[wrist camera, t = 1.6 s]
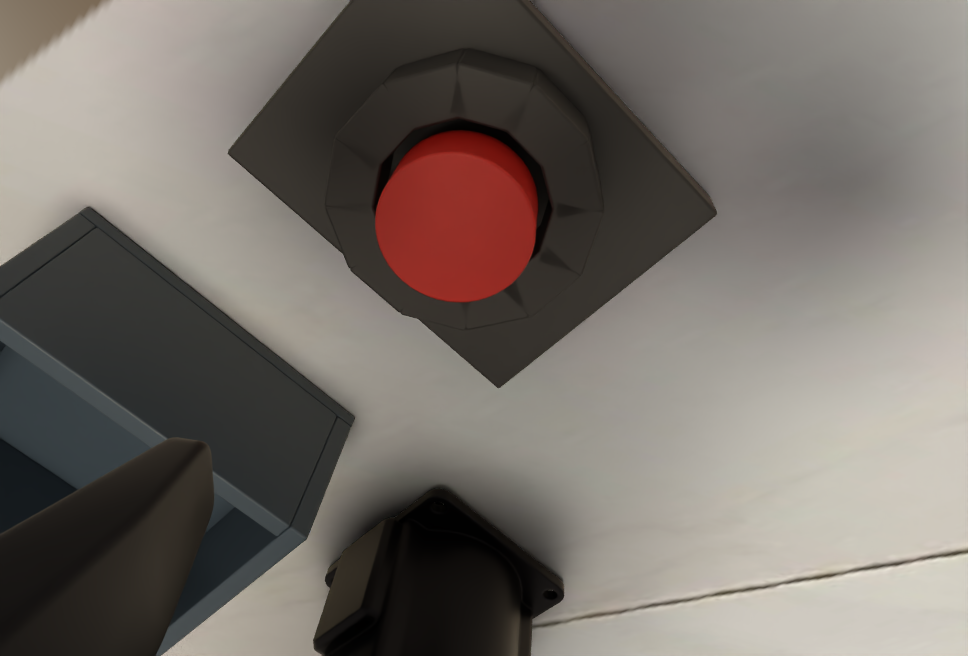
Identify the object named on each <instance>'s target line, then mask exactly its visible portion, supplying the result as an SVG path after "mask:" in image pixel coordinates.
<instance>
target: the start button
mask: <svg viewBox="0 0 968 656" xmlns="http://www.w3.org/2000/svg"><path fill="white" fill-rule="evenodd" d="M537 215H538V195H537V190H536V186H535V183H534V180H533V177H532V175H531V173H530V171H529V169H528V167H527V166H526V164H525V163H524V161H523V160H522V159H521V158H520V157H519V156H518V154H517V153H516V152H514V151H513V150H512V149H511V148H510V147H509V146H507V145H506V144H504V143H503V142H501V141H500V140H498V139H496V138H494V137H492V136H489V135H486V134H483V133H479V132H475V131H467V130H452V131H446V132H441V133H438V134H435V135H432V136H430V137H428V138H426V139H424V140H422V141H420V142H419V143H418V144H416V145H415V146H414V147H412V148H411V149H410V150H409V151H408V152H407V153H406V154H405V156H404V157H403V158H402V159H401V161H400V163H399V164H398V166H397V167H396V169H395V171H394V172H393V174H392V176H391V178H390V179H389V181H388V183H387V184H386V186H385V188H384V189H383V191H382V193H381V196H380V198H379V201H378V205H377V208H376V216H375V230H376V236H377V241H378V244H379V247H380V250H381V252H382V254H383V256H384V258H385V260H386V262H387V263H388V265H389V266H390V268H391V269H392V270H393V271H394V273H395V274H396V275H397V276H398V277H399V278H400V279H401V280H402V281H403V282H405V283H406V284H407V285H408V286H410V287H411V288H413V289H415V290H416V291H418V292H420V293H422V294H424V295H426V296H428V297H432V298H435V299H438V300H443V301H448V302H471V301H477V300H481V299H485V298H488V297H490V296H492V295H495V294H497V293H499V292H500V291H502V290H504V289H505V288H507V287H508V286H509V285H510V284H512V283H513V282H514V281H515V280H516V279H517V278H518V277H519V276H520V274H521V273H522V272H523V270H524V269H525V267H526V266H527V264H528V262H529V260H530V258H531V255H532V253H533V249H534V245H535V238H536V226H537Z"/></svg>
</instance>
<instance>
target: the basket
mask: <svg viewBox="0 0 968 656" xmlns="http://www.w3.org/2000/svg"><path fill="white" fill-rule="evenodd" d="M354 419H355V418H354V417H353V416H352V415H351V414H349V413H348V412H347V411H346V410H344V409H343V408H342V407H341V406H339V405H338V404H337V403H336V402H334V401H333V400H332V399H331V398H329V397H328V396H327V395H325V394H324V393H323V392H322V391H320V390H319V389H318V388H317V387H315V386H314V385H313V384H312V383H310V382H309V381H308V380H307V379H305V378H304V377H303V376H301V375H300V374H299V373H298V372H296V371H295V370H294V369H293V368H291V367H290V366H289V365H288V364H286V363H285V362H284V361H283V360H281V359H280V358H279V357H277V356H276V355H275V354H274V353H272V352H271V351H270V350H269V349H267V348H266V347H265V346H264V345H262V344H261V343H260V342H259V341H257V340H256V339H255V338H253V337H252V336H251V335H250V334H248V333H247V332H246V331H245V330H243V329H242V328H241V327H240V326H238V325H237V324H236V323H235V322H233V321H232V320H231V319H230V318H228V317H227V316H226V315H224V314H223V313H222V312H221V311H219V310H218V309H217V308H216V307H214V306H213V305H212V304H211V303H209V302H208V301H207V300H206V299H204V298H203V297H202V296H200V295H199V294H198V293H197V292H195V291H194V290H193V289H192V288H190V287H189V286H188V285H187V284H185V283H184V282H183V281H182V280H180V279H179V278H178V277H176V276H175V275H174V274H173V273H171V272H170V271H169V270H168V269H166V268H165V267H164V266H163V265H161V264H160V263H159V262H158V261H156V260H155V259H154V258H152V257H151V256H150V255H149V254H147V253H146V252H145V251H144V250H142V249H141V248H140V247H139V246H137V245H136V244H135V243H134V242H132V241H131V240H130V239H128V238H127V237H126V236H125V235H123V234H122V233H121V232H120V231H118V230H117V229H116V228H115V227H113V226H112V225H111V224H110V223H108V222H107V221H106V220H104V219H103V218H102V217H101V216H99V215H98V214H97V213H96V212H94V211H93V210H92V209H91V208H89V207H87V208H85V209H84V210H82V211H81V212H79V213H78V214H77V215H75V216H74V217H72V218H71V219H69V220H68V221H66V222H65V223H63V224H62V225H60V226H59V227H57V228H56V229H54V230H53V231H51V232H50V233H49V234H47V235H46V236H44V237H43V238H41V239H40V240H38V241H37V242H35V243H34V244H32V245H31V246H29V247H28V248H26V249H25V250H24V251H22V252H21V253H19V254H18V255H16V256H15V257H13V258H12V259H10V260H9V261H7V262H6V263H4V264H3V265H1V266H0V534H2V533H3V532H5V531H7V530H9V529H10V528H12V527H14V526H16V525H17V524H19V523H21V522H23V521H24V520H26V519H28V518H30V517H31V516H33V515H35V514H37V513H38V512H40V511H42V510H44V509H45V508H47V507H49V506H51V505H52V504H54V503H56V502H58V501H59V500H61V499H63V498H65V497H66V496H68V495H70V494H72V493H74V492H75V491H77V490H79V489H81V488H82V487H84V486H86V485H88V484H89V483H91V482H93V481H95V480H96V479H98V478H100V477H102V476H103V475H105V474H107V473H109V472H110V471H112V470H114V469H116V468H117V467H119V466H121V465H123V464H124V463H126V462H128V461H130V460H131V459H133V458H135V457H137V456H138V455H140V454H142V453H144V452H145V451H147V450H149V449H151V448H152V447H154V446H156V445H158V444H159V443H161V442H163V441H165V440H167V439H169V438H173V437H178V438H185V439H191V440H198V441H203V442H205V443H207V444H208V445H209V447H210V450H211V456H212V470H213V484H214V506H213V511H212V515H211V518H210V521H209V524H208V526H207V529H206V531H205V534H204V537H203V539H202V542H201V544H200V547H199V550H198V552H197V555H196V557H195V560H194V562H193V565H192V568H191V570H190V573H189V575H188V578H187V581H186V583H185V586H184V588H183V591H182V594H181V596H180V599H179V601H178V604H177V607H176V609H175V612H174V614H173V617H172V620H171V622H170V624H169V627H168V629H167V632H166V634H165V637H164V639H163V641H162V643H161V645H160V648H159V650H158V652H157V654H156V656H161V655H162V654H164V653H165V652H166V651H167V650H169V649H170V648H171V647H172V646H174V645H175V644H176V643H177V642H179V641H180V640H181V639H182V638H184V637H185V636H186V635H187V634H189V633H190V632H191V631H192V630H194V629H195V628H196V627H197V626H199V625H200V624H201V623H202V622H204V621H205V620H206V619H207V618H209V617H210V616H211V615H212V614H214V613H215V612H216V611H217V610H219V609H220V608H221V607H222V606H224V605H225V604H226V603H227V602H229V601H230V600H231V599H232V598H234V597H235V596H236V595H237V594H239V593H240V592H241V591H242V590H244V589H245V588H246V587H247V586H249V585H250V584H251V583H252V582H254V581H255V580H256V579H257V578H259V577H260V576H261V575H262V574H264V573H265V572H266V571H267V570H269V569H270V568H271V567H272V566H274V565H275V564H276V563H277V562H279V561H280V560H281V559H282V558H284V557H285V556H286V555H287V554H289V553H290V552H291V551H292V550H294V549H295V548H296V547H297V546H299V545H300V544H301V543H302V542H304V541H305V540H306V539H307V537H308V535H309V532H310V530H311V527H312V525H313V522H314V520H315V517H316V515H317V512H318V510H319V507H320V504H321V502H322V499H323V497H324V494H325V492H326V489H327V487H328V484H329V482H330V479H331V477H332V474H333V471H334V469H335V466H336V464H337V461H338V459H339V456H340V454H341V451H342V449H343V446H344V444H345V441H346V438H347V436H348V433H349V431H350V428H351V427H352V424H353V421H354Z"/></svg>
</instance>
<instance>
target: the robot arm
mask: <svg viewBox="0 0 968 656" xmlns="http://www.w3.org/2000/svg"><path fill="white" fill-rule="evenodd" d="M434 502H441V503H443V504H444V505H438V504H435V503H434ZM213 506H214V484H213V470H212V456H211V450H210V447H209V445H208V444H207V443H205V442H203V441H198V440H191V439H185V438H178V437H173V438H169V439H167V440H165V441H163V442H161V443H159V444H158V445H156V446H154V447H152V448H151V449H149V450H147V451H145V452H144V453H142V454H140V455H138V456H137V457H135V458H133V459H131V460H130V461H128V462H126V463H124V464H123V465H121V466H119V467H117V468H116V469H114V470H112V471H110V472H109V473H107V474H105V475H103V476H102V477H100V478H98V479H96V480H95V481H93V482H91V483H89V484H88V485H86V486H84V487H82V488H81V489H79V490H77V491H75V492H74V493H72V494H70V495H68V496H66V497H65V498H63V499H61V500H59V501H58V502H56V503H54V504H52V505H51V506H49V507H47V508H45V509H44V510H42V511H40V512H38V513H37V514H35V515H33V516H31V517H30V518H28V519H26V520H24V521H23V522H21V523H19V524H17V525H16V526H14V527H12V528H10V529H9V530H7V531H5V532H3V533H2V534H0V656H156V654H157V652H158V650H159V648H160V645H161V643H162V641H163V639H164V637H165V634H166V632H167V629H168V627H169V624H170V622H171V620H172V617H173V614H174V612H175V609H176V607H177V604H178V601H179V599H180V596H181V594H182V591H183V588H184V586H185V583H186V581H187V578H188V575H189V573H190V570H191V568H192V565H193V562H194V560H195V557H196V555H197V552H198V550H199V547H200V544H201V542H202V539H203V537H204V534H205V531H206V529H207V526H208V524H209V521H210V518H211V515H212V511H213ZM325 582H326V584H327V586H328V587H329V588H330V591H329V594H328V597H327V600H326V603H325V606H324V609H323V612H322V615H321V618H320V621H319V624H318V627H317V630H316V633H315V636H314V639H313V643H314V649H315V651H317V652H318V653H320V654H321V655H322V656H531V640H532V619H533V618H535V617H536V616H538V615H540V614H541V613H543V612H545V611H546V610H548V609H549V608H551V607H553V606H554V605H556V604H558V603H559V602H561V601H562V600H563V598H564V584H563V582H562V581H561V580H560V579H559V578H558V577H556V576H555V575H554V574H553V573H551V572H550V571H549V570H547V569H546V568H545V567H544V566H542V565H541V564H540V563H539V562H537V561H536V560H535V559H534V558H532V557H531V556H530V555H529V554H527V553H526V552H525V551H523V550H522V549H521V548H520V547H518V546H517V545H516V544H515V543H513V542H512V541H511V540H510V539H508V538H507V537H506V536H505V535H503V534H502V533H501V532H500V531H498V530H497V529H496V528H494V527H493V526H492V525H491V524H489V523H488V522H487V521H486V520H484V519H483V518H482V517H481V516H479V515H478V514H477V513H476V512H474V511H473V510H472V509H470V508H469V507H468V506H467V505H465V504H464V503H463V502H462V501H460V500H459V499H458V498H457V497H455V496H454V495H453V494H452V493H450V492H449V491H447V490H445V489H440V488H438V489H433V490H431V491H429V492H427V493H426V494H425V495H424V496H422V497H421V498H420V499H418V500H417V501H416V502H414V503H413V504H412V505H410V506H409V507H408V508H406V509H405V510H404V511H402V512H401V513H400V514H399V515H397V516H396V517H395V518H393V517H391V518H387V519H384V520H383V521H382V522H380V523H379V524H378V525H376V526H375V527H374V528H373V529H371V530H370V531H369V532H367V533H366V534H365V535H363V536H362V537H361V538H359V539H358V540H357V541H356V542H354V543H353V544H352V545H350V546H349V547H348V548H346V549H345V550H344V551H343V552H342V555H341V558H340V559H339V560H338V561H337V562H335V563H334V564H333V565H331V566H330V568H329V569H328V571H327V574H326V577H325ZM548 590H553V591H548Z"/></svg>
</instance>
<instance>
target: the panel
mask: <svg viewBox="0 0 968 656" xmlns="http://www.w3.org/2000/svg"><path fill="white" fill-rule="evenodd" d="M452 130H467V131H475V132H479V133H483V134H486V135H489V136H492V137H494V138H496V139H498V140H500V141H501V142H503V143H504V144H506V145H507V146H509V147H510V148H511V149H512V150H513V151H514V152H516V153H517V154H518V156H519V157H520V158H521V159H522V160H523V161H524V163H525V164H526V166H527V167H528V169H529V171H530V173H531V175H532V177H533V180H534V183H535V186H536V190H537V195H538V215H537V226H536V238H535V245H534V249H533V253H532V255H531V258H530V260H529V262H528V264H527V266H526V267H525V269H524V270H523V272H522V273H521V274H520V276H519V277H518V278H517V279H516V280H515V281H514V282H513V283H512V284H510V285H509V286H508V287H507V288H505V289H504V290H502V291H500V292H499V293H497V294H495V295H492V296H490V297H488V298H485V299H481V300H477V301H471V302H448V301H443V300H438V299H435V298H432V297H428V296H426V295H424V294H422V293H420V292H418V291H416V290H415V289H413V288H411V287H410V286H408V285H407V284H406V283H405V282H403V281H402V280H401V279H400V278H399V277H398V276H397V275H396V274H395V273H394V271H393V270H392V269H391V268H390V266H389V265H388V263H387V262H386V260H385V258H384V256H383V254H382V252H381V250H380V247H379V244H378V241H377V236H376V230H375V216H376V208H377V205H378V201H379V198H380V196H381V193H382V191H383V189H384V188H385V186H386V184H387V183H388V181H389V179H390V178H391V176H392V174H393V172H394V171H395V169H396V167H397V166H398V164H399V163H400V161H401V159H402V158H403V157H404V156H405V154H406V153H407V152H408V151H409V150H410V149H411V148H412V147H414V146H415V145H416V144H418V143H419V142H420V141H422V140H424V139H426V138H428V137H430V136H432V135H435V134H438V133H441V132H446V131H452ZM228 154H229V155H230V156H231V157H232V158H233V159H234V160H235V161H236V162H238V163H239V164H240V165H241V166H242V167H243V168H245V169H246V170H247V171H248V172H249V173H250V174H251V175H253V176H254V177H255V178H256V179H257V180H258V181H260V182H261V183H262V184H263V185H264V186H265V187H266V188H268V189H269V190H270V191H271V192H272V193H273V194H275V195H276V196H277V197H278V198H279V199H280V200H281V201H283V202H284V203H285V204H286V205H287V206H288V207H290V208H291V209H292V210H293V211H294V212H295V213H296V214H298V215H299V216H300V217H301V218H302V219H303V220H305V221H306V222H307V223H308V224H309V225H310V226H311V227H313V228H314V229H315V230H316V231H317V232H318V233H320V234H321V235H322V236H323V237H324V238H325V239H326V240H328V241H329V242H330V243H331V244H332V245H333V246H335V247H336V248H337V249H338V250H339V251H340V252H341V253H343V255H344V257H345V260H346V262H347V265H348V267H349V268H351V271H352V272H353V273H354V274H355V275H356V276H357V277H359V278H360V279H361V280H362V281H363V282H364V283H366V284H367V285H368V286H369V287H370V288H371V289H373V290H374V291H375V292H376V293H377V294H378V295H380V296H381V297H382V298H383V299H384V300H385V301H386V302H388V303H389V304H390V305H391V306H392V307H393V308H395V309H396V310H397V311H398V312H401V314H402V315H406V316H410V317H413V318H417V319H419V320H420V321H421V322H422V323H423V324H425V325H426V326H427V327H428V328H429V329H430V330H431V331H433V332H434V333H435V334H436V335H437V336H438V337H440V338H441V339H442V340H443V341H444V342H445V343H446V344H448V345H449V346H450V347H451V348H452V349H453V350H455V351H456V352H457V353H458V354H459V355H460V356H461V357H463V358H464V359H465V360H466V361H467V362H468V363H470V364H471V365H472V366H473V367H474V368H475V369H476V370H478V371H479V372H480V373H481V374H482V375H483V376H485V377H486V378H487V379H488V380H489V381H490V382H491V383H493V384H494V385H495V386H496V387H497V388H500V387H501V386H503V385H504V384H505V383H506V382H508V381H509V380H510V379H511V378H513V377H514V376H515V375H516V374H518V373H519V372H520V371H522V370H523V369H524V368H525V367H527V366H528V365H529V364H530V363H532V362H533V361H534V360H535V359H537V358H538V357H539V356H540V355H542V354H543V353H544V352H545V351H547V350H548V349H549V348H550V347H552V346H553V345H554V344H555V343H557V342H558V341H559V340H560V339H562V338H563V337H564V336H565V335H567V334H568V333H569V332H570V331H572V330H573V329H574V328H575V327H577V326H578V325H579V324H580V323H582V322H583V321H584V320H585V319H587V318H588V317H589V316H590V315H592V314H593V313H594V312H595V311H597V310H598V309H599V308H600V307H602V306H603V305H604V304H606V303H607V302H608V301H609V300H611V299H612V298H613V297H614V296H616V295H617V294H618V293H619V292H621V291H622V290H623V289H624V288H626V287H627V286H628V285H629V284H631V283H632V282H633V281H634V280H636V279H637V278H638V277H639V276H641V275H642V274H643V273H644V272H646V271H647V270H648V269H649V268H651V267H652V266H653V265H654V264H656V263H657V262H658V261H659V260H661V259H662V258H663V257H664V256H666V255H667V254H668V253H669V252H671V251H672V250H673V249H674V248H676V247H677V246H678V245H679V244H681V243H682V242H683V241H684V240H686V239H687V238H688V237H690V236H691V235H692V234H693V233H695V232H696V231H697V230H698V229H700V228H701V227H702V226H703V225H705V224H706V223H707V222H708V221H710V220H711V219H712V218H713V217H715V216H716V214H717V211H716V209H715V207H714V205H713V202H712V200H711V198H710V196H709V195H708V194H707V193H706V192H705V191H704V190H703V189H702V188H701V187H700V186H699V184H698V183H697V182H696V181H695V180H694V179H693V178H692V177H691V176H690V175H689V174H688V172H687V171H686V170H685V169H684V168H683V167H682V166H681V165H680V164H679V163H678V162H677V160H676V159H675V158H674V157H673V156H672V155H671V154H670V153H669V152H668V151H667V150H666V149H665V147H664V146H663V145H662V144H661V143H660V142H659V141H658V140H657V139H656V138H655V137H654V135H653V134H652V133H651V132H650V131H649V130H648V129H647V128H646V127H645V126H644V125H643V124H642V122H641V121H640V120H639V119H638V118H637V117H636V116H635V115H634V114H633V113H632V112H631V110H630V109H629V108H628V107H627V106H626V105H625V104H624V103H623V102H622V101H621V100H620V99H619V97H618V96H617V95H616V94H615V93H614V92H613V91H612V90H611V89H610V88H609V87H608V85H607V84H606V83H605V82H604V81H603V80H602V79H601V78H600V77H599V76H598V75H597V74H596V72H595V71H594V70H593V69H592V68H591V67H590V66H589V65H588V64H587V63H586V62H585V60H584V59H583V58H582V57H581V56H580V55H579V54H578V53H577V52H576V51H575V50H574V48H573V47H572V46H571V45H570V44H569V43H568V42H567V41H566V40H565V39H564V38H563V37H562V35H561V34H560V33H559V32H558V31H557V30H556V29H555V28H554V27H553V26H552V25H551V23H550V22H549V21H548V20H547V19H546V18H545V17H544V16H543V15H542V14H541V13H540V12H539V10H538V9H537V8H536V7H535V6H534V5H533V4H532V3H531V2H530V1H529V0H351V1H350V2H349V3H348V4H347V6H346V7H345V8H344V9H343V10H342V12H341V13H340V14H339V15H338V17H337V18H336V19H335V20H334V21H333V23H332V24H331V25H330V26H329V28H328V29H327V30H326V31H325V32H324V34H323V35H322V36H321V37H320V39H319V40H318V41H317V42H316V44H315V45H314V46H313V47H312V48H311V50H310V51H309V52H308V53H307V55H306V56H305V57H304V58H303V59H302V61H301V62H300V63H299V64H298V66H297V67H296V68H295V69H294V70H293V72H292V73H291V74H290V75H289V77H288V78H287V79H286V80H285V82H284V83H283V84H282V85H281V86H280V88H279V89H278V90H277V91H276V93H275V94H274V95H273V96H272V97H271V99H270V100H269V101H268V102H267V104H266V105H265V106H264V107H263V108H262V110H261V111H260V112H259V113H258V115H257V116H256V117H255V118H254V120H253V121H252V122H251V123H250V124H249V126H248V127H247V128H246V129H245V131H244V132H243V133H242V134H241V135H240V137H239V138H238V139H237V140H236V142H235V143H234V144H233V145H232V146H231V148H230V149H229V150H228Z"/></svg>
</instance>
